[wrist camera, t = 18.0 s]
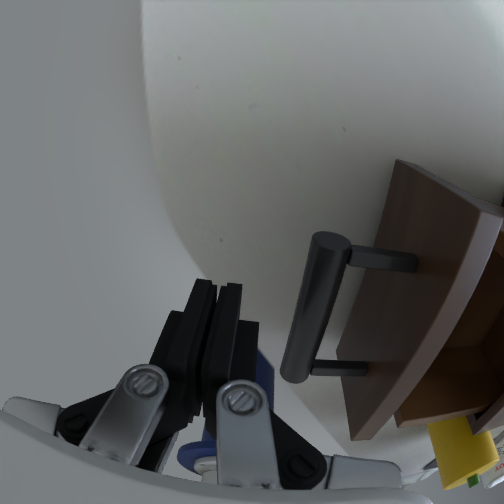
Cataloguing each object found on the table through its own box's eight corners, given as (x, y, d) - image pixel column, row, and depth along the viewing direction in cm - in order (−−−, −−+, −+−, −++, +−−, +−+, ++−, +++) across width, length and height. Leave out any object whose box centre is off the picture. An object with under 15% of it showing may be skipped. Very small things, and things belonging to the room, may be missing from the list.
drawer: (272, 346, 18) (269, 441, 12) (310, 140, 12) (347, 176, 6) (470, 349, 18) (502, 412, 12) (537, 209, 12) (601, 258, 6)
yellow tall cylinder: (446, 397, 23) (475, 488, 12) (408, 402, 23) (433, 504, 12) (472, 364, 20) (513, 462, 10) (433, 368, 20) (473, 482, 10)
